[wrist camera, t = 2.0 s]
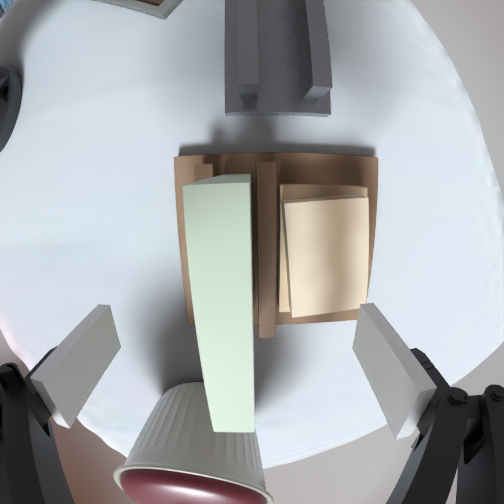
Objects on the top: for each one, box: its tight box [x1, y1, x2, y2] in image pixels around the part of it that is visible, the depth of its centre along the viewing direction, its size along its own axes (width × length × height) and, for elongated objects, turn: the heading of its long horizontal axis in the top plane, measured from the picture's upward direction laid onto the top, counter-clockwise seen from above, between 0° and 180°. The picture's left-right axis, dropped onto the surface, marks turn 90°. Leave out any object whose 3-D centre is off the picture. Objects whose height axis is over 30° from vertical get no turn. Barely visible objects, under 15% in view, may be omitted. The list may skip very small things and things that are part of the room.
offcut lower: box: [277, 184, 367, 312], centre depth 26 cm, size 8×12×2 cm, turn 1°
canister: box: [114, 382, 273, 504], centre depth 26 cm, size 18×18×21 cm
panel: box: [183, 174, 255, 432], centre depth 20 cm, size 2×14×16 cm, turn 1°
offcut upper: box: [281, 194, 369, 318], centre depth 24 cm, size 7×10×2 cm
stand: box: [225, 0, 332, 117], centre depth 19 cm, size 10×18×8 cm, turn 1°
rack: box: [174, 152, 378, 338], centre depth 26 cm, size 20×18×6 cm
